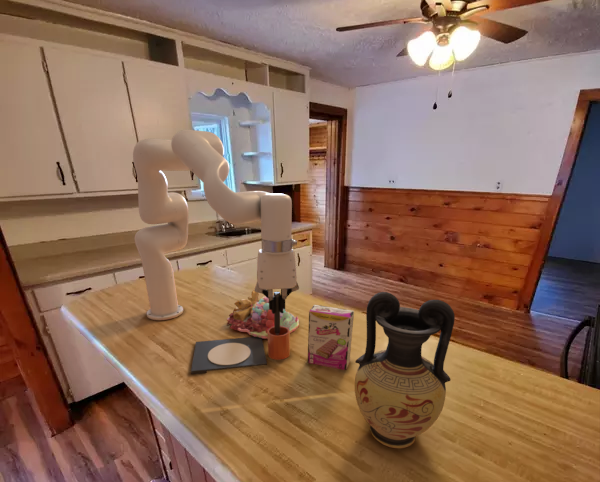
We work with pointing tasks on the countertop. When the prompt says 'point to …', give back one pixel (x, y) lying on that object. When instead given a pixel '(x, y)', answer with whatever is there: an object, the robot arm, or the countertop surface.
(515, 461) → the countertop surface
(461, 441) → the countertop surface
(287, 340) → the pen pot
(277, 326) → the marker pen
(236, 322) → the candy landscape model
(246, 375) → the countertop surface
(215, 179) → the robot arm
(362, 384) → the amphora
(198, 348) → the board
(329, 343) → the candy bar box
